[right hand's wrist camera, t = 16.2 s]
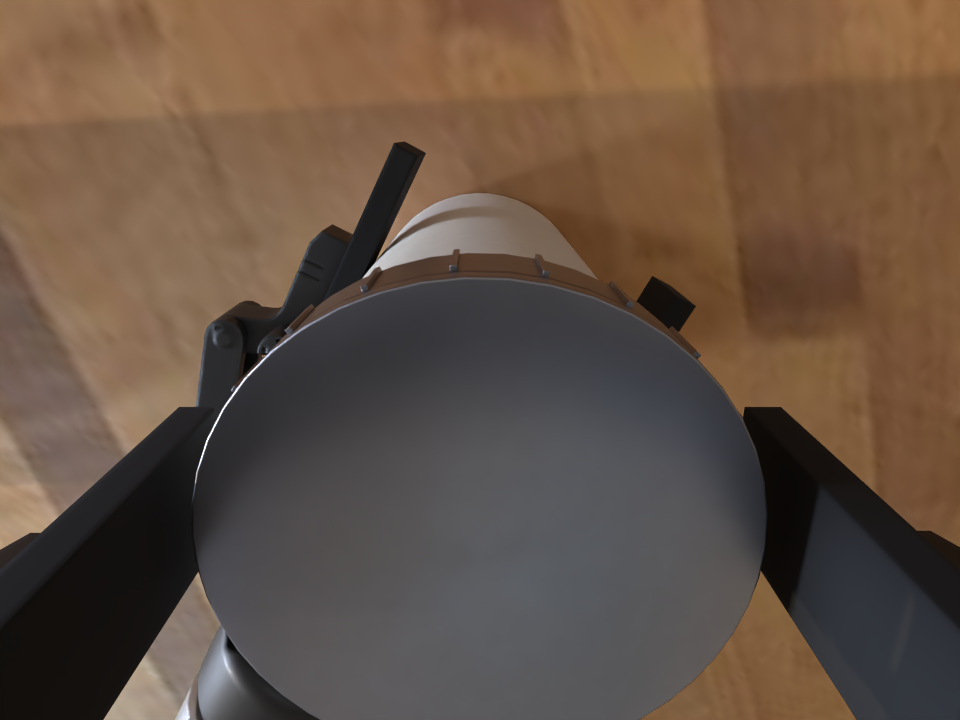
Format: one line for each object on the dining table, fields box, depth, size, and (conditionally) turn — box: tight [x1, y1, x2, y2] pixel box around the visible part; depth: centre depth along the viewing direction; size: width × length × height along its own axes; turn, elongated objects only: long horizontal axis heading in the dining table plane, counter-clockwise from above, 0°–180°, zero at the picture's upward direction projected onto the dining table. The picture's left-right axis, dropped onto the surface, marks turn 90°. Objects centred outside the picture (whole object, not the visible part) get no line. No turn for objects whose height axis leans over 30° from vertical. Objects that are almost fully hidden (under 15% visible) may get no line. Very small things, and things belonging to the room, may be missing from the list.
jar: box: [363, 193, 597, 279], centre depth 19 cm, size 9×9×17 cm
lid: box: [192, 249, 768, 720], centre depth 11 cm, size 10×10×2 cm
